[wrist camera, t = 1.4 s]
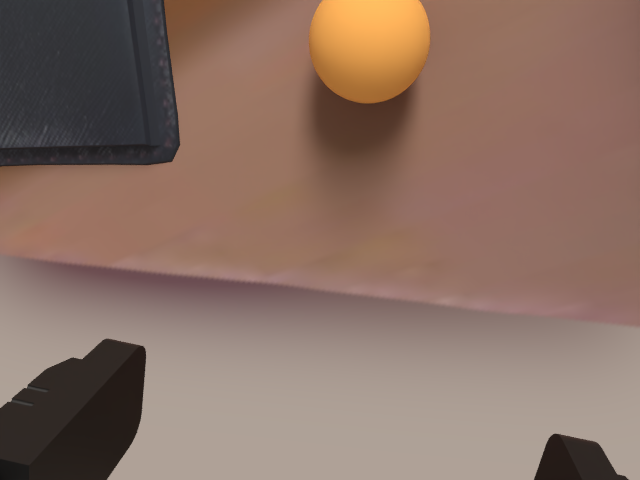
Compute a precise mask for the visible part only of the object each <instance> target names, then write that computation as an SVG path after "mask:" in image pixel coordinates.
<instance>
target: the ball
mask: <svg viewBox="0 0 640 480" xmlns="http://www.w3.org/2000/svg"><path fill="white" fill-rule="evenodd" d="M429 47H430V28H429V22H428V18H427V15H426V12H425V10H424V8H423V6H422V4H421V2H420V1H419V0H322V2H321V3H320V5H319V6H318V8H317V10H316V12H315V14H314V17H313V19H312V23H311V27H310V33H309V49H310V55H311V59H312V62H313V65H314V68H315V70H316V72H317V74H318V75H319V77H320V78H321V80H322V81H323V82H324V83H325V84H326V86H327V87H328V88H330V89H331V90H332V91H333V92H334V93H336V94H338V95H339V96H341V97H343V98H345V99H347V100H350V101H354V102H359V103H378V102H382V101H386V100H388V99H391V98H393V97H395V96H397V95H399V94H400V93H402V92H403V91H404V90H406V89H407V88H408V87H409V86H410V85H411V84H412V83H413V82H414V81H415V80H416V78H417V77H418V75H419V74H420V72H421V71H422V69H423V67H424V65H425V62H426V59H427V56H428V52H429Z"/></svg>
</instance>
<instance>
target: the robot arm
mask: <svg viewBox="0 0 640 480" xmlns="http://www.w3.org/2000/svg"><path fill="white" fill-rule="evenodd" d="M145 364H146V351H145V348H144V347H143V346H140V345H135V344H131V343H126V342H121V341H116V340H112V339H105V340H103V341H102V342H101V343H99V344H98V345H97V346H96V347H95V348H94V349H93V350H92V351H91V352H90V353H89V354H88V355H86V356H85V357H84V358H83V359H82V360H81V359H77V358H70V359H68V360H66V361H64V362H61V363H59V364H57V365H54V366H52V367H50V368H48V369H46V370H45V371H43V372H42V373H41V374H40V375H39V376H38V377H36V379H34V380H33V381H32V382H31V383H29V384H28V387H27V388H24V389H22V390H21V391H20V392H19V393H18V394H17V395H15V396H14V397H13V398H12V401H11V402H7V403H6V404H5V405H4V406H3V407H1V408H0V480H107V478H108V477H109V475H110V474H111V473H112V471H113V470H114V468H115V467H116V466H117V464H118V463H119V461H120V460H121V458H122V457H123V455H124V454H125V453H126V451H127V450H128V448H129V447H130V445H131V444H132V442H133V440H134V438H135V435H136V433H137V430H138V427H139V424H140V419H141V413H142V401H143V389H144V377H145ZM534 480H628V479H627V478H626V477H625V476H622V475H617V473H616V472H615V470H614V468H613V467H612V465H611V463H610V462H609V460H608V458H607V456H606V455H605V453H604V451H603V450H602V448H601V447H600V445H599V444H598V443H596V442H593V441H588V440H584V439H579V438H574V437H570V436H565V435H560V434H553V435H552V436H551V437H550V438H549V440H548V442H547V444H546V447H545V450H544V452H543V455H542V458H541V461H540V464H539V467H538V470H537V473H536V476H535V478H534Z"/></svg>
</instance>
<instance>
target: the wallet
mask: <svg viewBox="0 0 640 480" xmlns="http://www.w3.org/2000/svg"><path fill="white" fill-rule="evenodd" d="M179 146H180V139H179V125H178V113H177V105H176V97H175V90H174V82H173V75H172V67H171V59H170V52H169V44H168V36H167V28H166V18H165V8H164V0H0V166H19V165H101V164H118V165H151V164H158V163H166V162H172V161H173V159H174V156H175V154H176V152H177V150H178V148H179Z"/></svg>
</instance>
